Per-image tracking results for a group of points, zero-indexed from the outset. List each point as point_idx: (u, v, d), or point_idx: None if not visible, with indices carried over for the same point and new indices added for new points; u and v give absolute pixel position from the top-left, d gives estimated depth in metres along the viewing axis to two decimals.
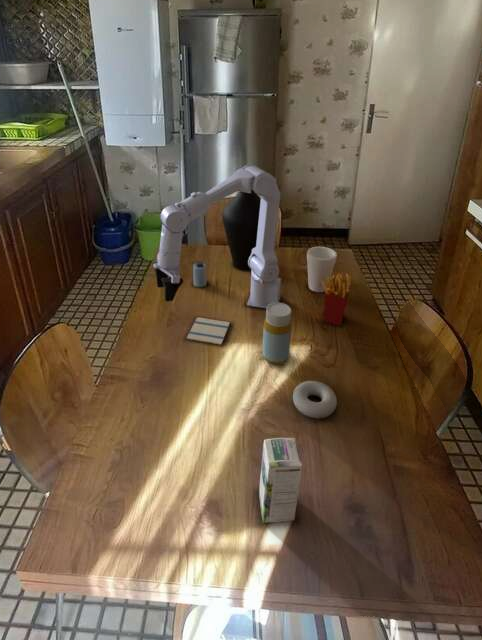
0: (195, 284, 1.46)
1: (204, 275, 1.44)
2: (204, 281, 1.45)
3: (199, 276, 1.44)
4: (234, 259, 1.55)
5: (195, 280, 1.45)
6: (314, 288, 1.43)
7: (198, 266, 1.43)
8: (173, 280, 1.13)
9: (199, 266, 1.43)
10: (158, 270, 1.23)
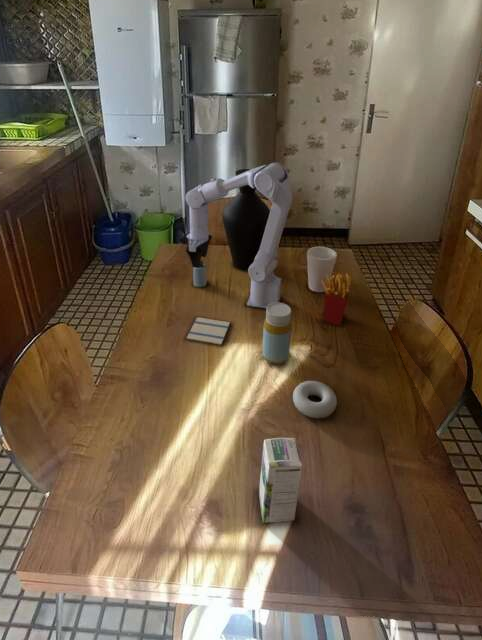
0: (195, 284, 1.46)
1: (204, 275, 1.44)
2: (204, 281, 1.45)
3: (199, 276, 1.44)
4: (234, 259, 1.55)
5: (195, 280, 1.45)
6: (314, 288, 1.43)
7: None
8: (189, 248, 1.34)
9: (199, 266, 1.43)
10: None
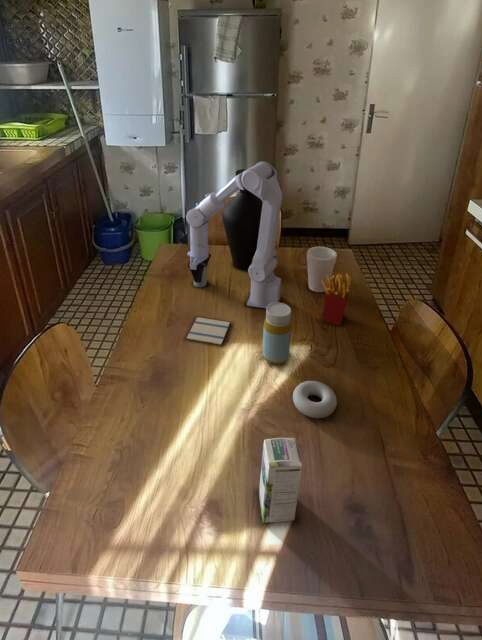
0: (195, 284, 1.46)
1: (204, 275, 1.44)
2: (204, 281, 1.45)
3: None
4: (234, 259, 1.55)
5: None
6: (314, 288, 1.43)
7: None
8: (190, 266, 1.37)
9: None
10: None
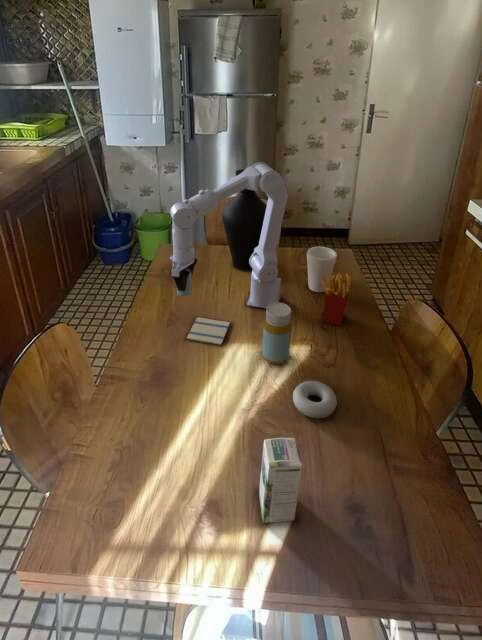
0: (178, 293, 1.27)
1: (189, 283, 1.26)
2: (189, 289, 1.27)
3: None
4: (234, 259, 1.55)
5: None
6: (314, 288, 1.43)
7: None
8: (172, 273, 1.19)
9: None
10: None
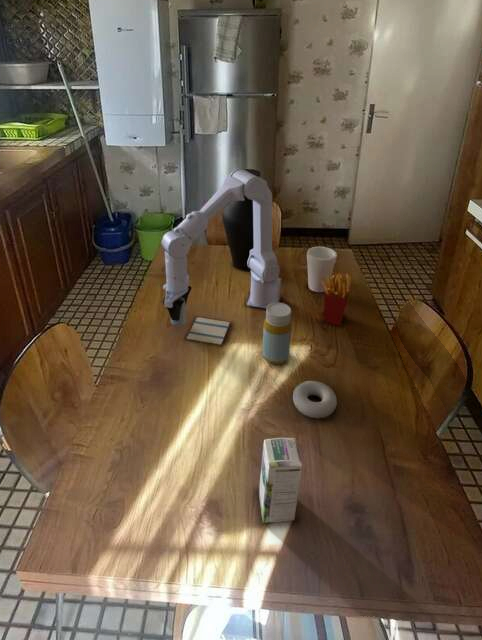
0: (172, 322, 1.24)
1: (183, 312, 1.22)
2: (183, 319, 1.23)
3: None
4: (234, 259, 1.55)
5: None
6: (314, 288, 1.43)
7: None
8: (165, 304, 1.15)
9: None
10: None
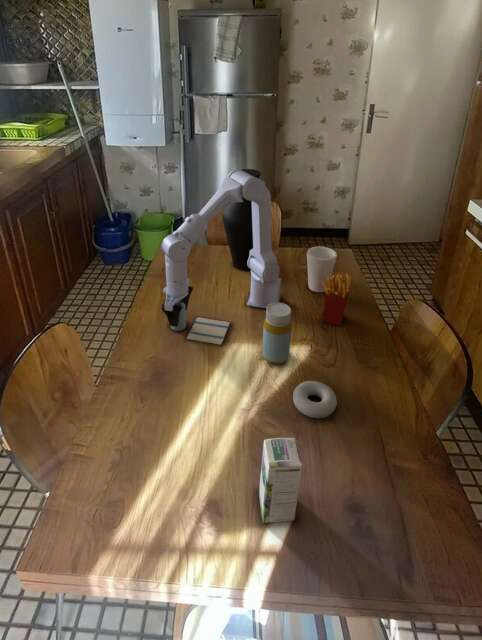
0: (172, 327, 1.24)
1: (183, 317, 1.23)
2: (183, 324, 1.24)
3: None
4: (234, 259, 1.55)
5: None
6: (314, 288, 1.43)
7: None
8: (165, 307, 1.15)
9: None
10: None
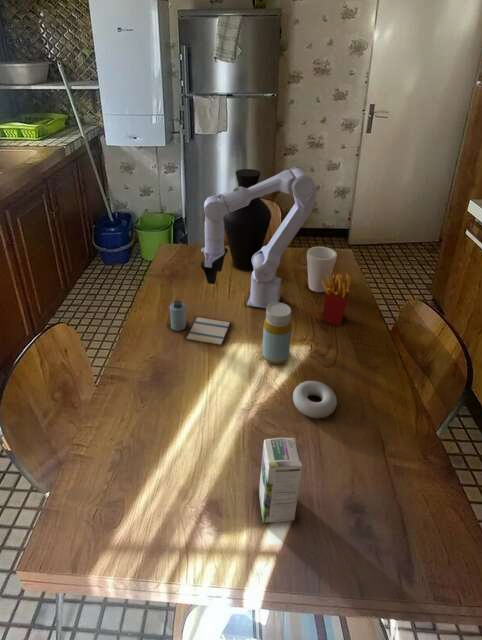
0: (172, 327, 1.24)
1: (183, 317, 1.23)
2: (183, 324, 1.24)
3: (177, 318, 1.22)
4: (234, 259, 1.55)
5: (172, 323, 1.24)
6: (314, 288, 1.43)
7: (176, 307, 1.22)
8: (205, 264, 1.24)
9: (177, 307, 1.22)
10: None
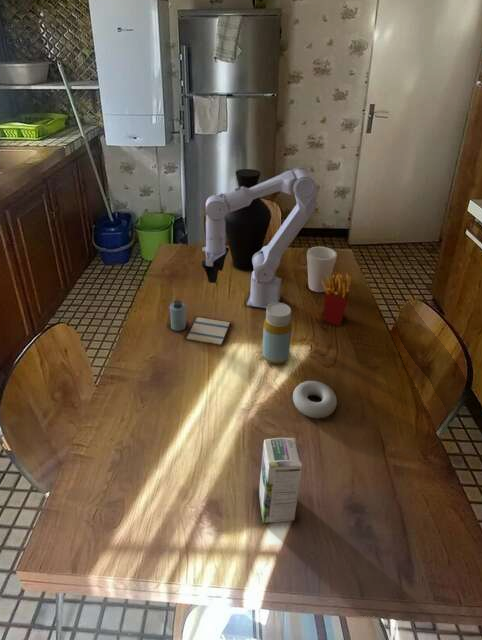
0: (172, 327, 1.24)
1: (183, 317, 1.23)
2: (183, 324, 1.24)
3: (177, 318, 1.22)
4: (234, 259, 1.55)
5: (172, 323, 1.24)
6: (314, 288, 1.43)
7: (176, 307, 1.22)
8: (206, 263, 1.24)
9: (177, 307, 1.22)
10: None
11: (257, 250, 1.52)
